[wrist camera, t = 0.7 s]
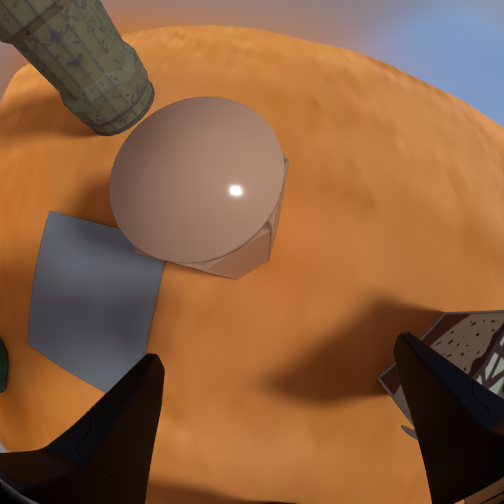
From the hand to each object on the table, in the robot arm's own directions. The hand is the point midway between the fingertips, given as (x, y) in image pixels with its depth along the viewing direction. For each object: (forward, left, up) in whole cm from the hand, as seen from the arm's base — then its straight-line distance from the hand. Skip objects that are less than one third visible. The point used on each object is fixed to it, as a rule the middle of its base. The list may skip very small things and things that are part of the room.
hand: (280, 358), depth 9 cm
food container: (-2, -16, -13) cm, 21 cm away
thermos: (+18, +22, -13) cm, 31 cm away
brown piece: (+6, +5, -13) cm, 15 cm away
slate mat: (-4, +18, -13) cm, 23 cm away
